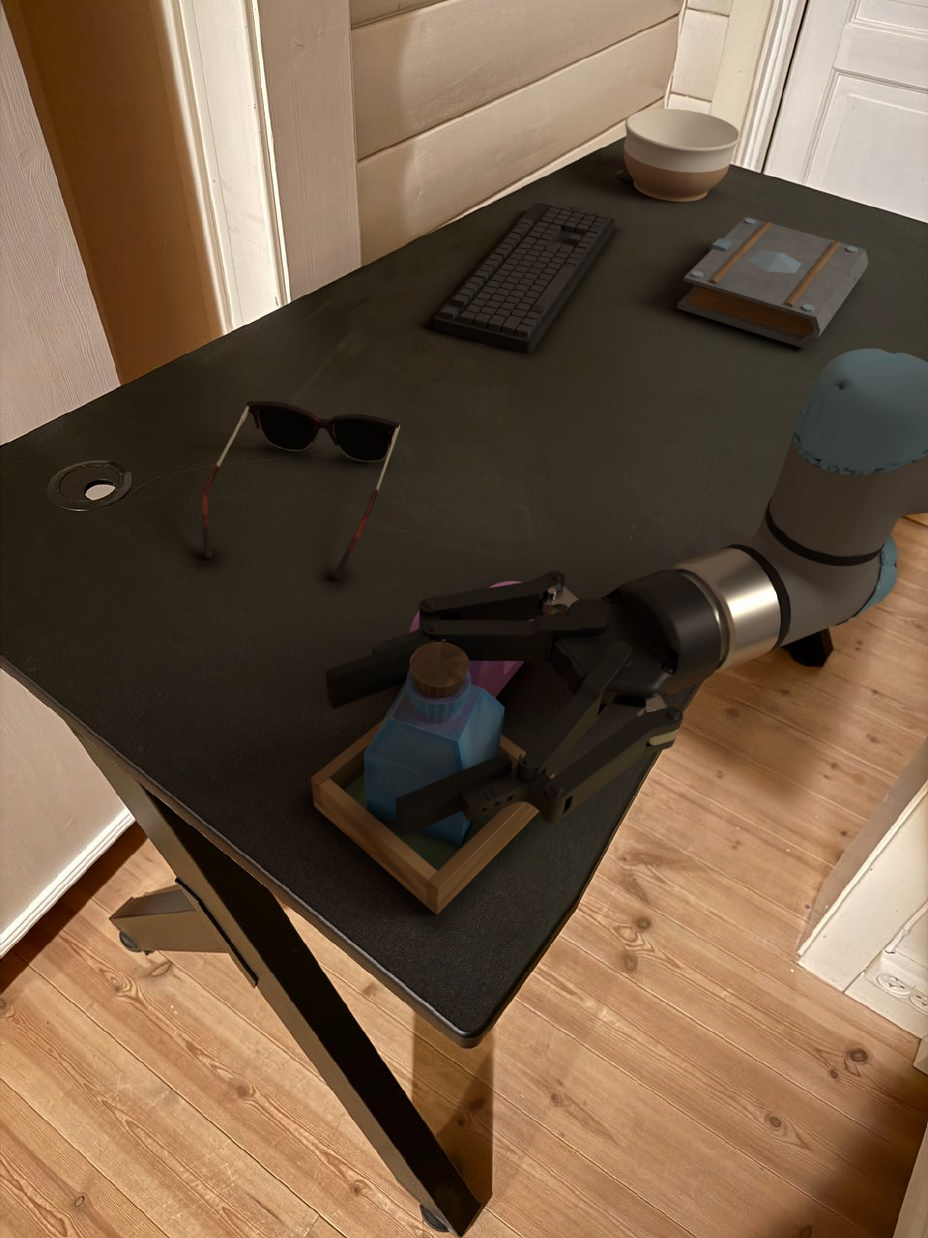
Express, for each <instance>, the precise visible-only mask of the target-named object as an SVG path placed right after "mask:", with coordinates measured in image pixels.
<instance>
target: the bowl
mask: <svg viewBox="0 0 928 1238" xmlns="http://www.w3.org/2000/svg"><path fill="white" fill-rule="evenodd" d="M624 126H625V132H626V133H625V134H626V135H625V140H624V143H623V160H624V163H625V167H626V170H627V172H628V173H629V175H630V177H631V178H632V180H633V186H634V188H635V189H636V190H637V191H639V192H640V193H642V194H643V195H646V196H648V197H651V198H653V199H657V200H662V201H667V202H668V201H669V202H676V203H677V202H679V203H682V202H694V201H699V200H701V199H703V198H705V197H706V196H707V194H708V193H709V191H710V190H711V189H712V188H714V187H715V186H716V185H718V184H719V183H720V182H721V180H723V178H724V177H725V176H726V174H727V173H728V171H729V168H730V165H731V163H732V161H733V158H734V153H735V148H736V146H737V145H738V144H739V142H740V140H741V133H740V131H739V129H738V128H737V127H736V126H735V125H733V124H732V123H730V122H729V121H727V120H725V119H722V118H720V117H717V116H715V115H712V114H707V113H704V112H699V111H693V110H689V109H680V108H654V109H652V108H651V109H645V110H640V111H637V112H635V113H632V114H630V115H629V116H628V117H627V118H626V120H625V122H624Z"/></svg>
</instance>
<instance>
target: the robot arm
mask: <svg viewBox="0 0 928 1238" xmlns="http://www.w3.org/2000/svg"><path fill="white" fill-rule="evenodd" d="M791 437H792V438H791V440H790V443H789V447H788V449H787V453H786V456H785V458H784V461H783V464H782V468H781V470H780V473H779V476H778V478H777V481H776V485H775V488H774V491H773V493H772V495H771V497H770V498H769V501H768V503H767V507H766V508H765V510H764V513H763V515H762V518H761V520H760V523H759V526H758V528H757V531H756V532H755V533H754V534H753V535H752V536H750V537H748V538H746V539H743V540H741V541H738V542H736V543H733V544H729V545H728V546H726V547H723V548H719V549H716V550H713V551H710V552H707V553H703V554H701V555H699V556H695V557H692V558H690V559H686V560H684V561H680V562H678V563H676V564H673V565H671V566H670V567H668V568H667V569H661V570H657V571H655V572H652V573H650V574H647V575H644V576H640V577H638V578H636V579H633V580H630V581H627V582H625V583H622V584H620V585H619V586H617V587H616V588H615V589H613V590H612V591H610V592H609V593H607V594H606V595H604V596H603V597H598V598H577V597H576V595H574V594H573V593H572V592H571V591H570V590H569V589H568V588H567V587H566V586H565V583H566V575H565V574H564V572H562V571H559V570H551V571H548V572H545V573H543V574H542V575H539V576H538V577H536V578H534V579H531V580H529V581H521V582H522V583H516V584H509V585H503V586H497V587H491V586H490V587H491V588H489V587H485V588H480V589H479V588H478V589H473V590H467V591H461V592H454V593H449V594H443V595H437V596H436V595H435V596H431V597H425V598H423V599H422V600H420V601H419V604H418V605H419V607H418V608H419V610H418V611H419V628H418V629H417V630H415V631H413V632H410V633H409V632H408V633H404V634H401V635H399V636H395V637H394V638H389V639H388V640H385V641H384V640H383V641H381V642H379V643H377V644H376V645H375V646H374V647H372V654H369V655H366V656H364V657H361V658H357V659H355V660H353V661H350V662H347V663H344V664H342V665H339V666H336V667H333V668H329V669H327V670H325V672H324V673H325V683H326V692H327V693H326V694H327V702H328V704H329V706H330V707H331V709H332V710H335V709H338V708H340V707H344V706H346V705H349V704H352V703H354V702H357V701H359V700H362V699H366V698H368V697H370V696H371V697H372V696H374V695H376V694H378V693H381V692H384V691H387V690H390V689H392V688H395V687H397V686H400V685H403V684H404V682H405V680H406V679H407V675H408V672H409V669H410V660H411V657H412V655H413V653H414V652H415V651H416V650H417V649H418V648H420V647H421V646H423V645H425V644H428V643H432V642H445V643H450V644H453V645H455V646H457V647H459V648H460V649H461V650H462V651H463V652H465V654H466V656H467V657H468V659H469V661H524V662H529V663H531V664H532V665H533V666H535V667H542V668H543V667H547V668H548V667H550V668H552V670H553V671H554V672H555V673H556V674H557V675H559V676H560V677H561V678H562V679H563V680H565V682H566V685H567V687H568V689H569V692H570V693H571V694H572V698H571V699H570V700H569V701H568V702H567V704H566V705H565V707H563V709H561V711H560V712H559V714H558V715H557V716H556V717H555V718H554V719H553V720H552V722H551V723H550V724H549V725H548V727H546V729H545V730H544V731H543V733H542V734H541V735H540V736H539V737H538V738H537V740H536V741H535V742H534V743H533V744H532V745H531V747H530V748H529V749H528V751H527V752H526V754H525V756H524V757H523V758H522V754H520V756H519V759H518V765H517V767H515V768H513V769H512V764H513V763H512V761H511V760H510V758H509V757H508V755H507V754H506V752H505V753H503V754H500V755H498V756H496V757H493V758H491V759H489V760H486V761H484V762H481V763H479V764H477V765H474V766H472V767H470V768H467V769H465V770H462V771H460V772H458V773H455V774H453V775H450V776H448V777H446V778H443V779H441V780H439V781H436V782H434V783H431V784H429V785H427V786H424V787H422V788H420V789H417V790H415V791H412V792H410V793H408V794H405V795H403V796H401V797H398V798H396V827H397V829H398V831H399V833H400V835H401V836H402V837H404V836H406V835H408V834H411V833H413V832H415V831H418V830H420V829H422V828H424V827H427V826H429V825H431V824H434V823H436V822H438V821H440V820H443V819H445V818H447V817H450V816H452V815H454V814H456V813H459V812H461V811H462V812H463V814H464V816H465V817H466V819H467V820H478V819H480V818H482V817H485V816H486V815H489V814H491V813H493V812H496V811H498V810H500V809H503V808H505V807H507V806H509V805H512V804H514V803H516V802H527V803H529V804H531V805H532V806H534V807H535V808H536V809H538V810H539V815H540V817H541V819H542V820H543V821H545V822H546V823H549V824H556V823H558V822H560V821H562V820H563V818H565V817H566V816H567V815H569V814H570V813H571V812H573V811H574V810H575V809H576V808H578V807H579V806H580V805H581V804H583V803H584V802H585V801H587V800H588V799H589V798H591V797H592V796H593V795H595V794H596V793H597V792H599V791H600V790H601V789H602V788H604V787H605V786H606V785H608V784H609V783H610V782H611V781H613V780H614V779H616V777H618V776H619V775H621V774H622V773H623V772H625V771H626V770H627V769H629V768H630V767H631V766H632V765H633V764H635V763H636V762H637V761H639V760H640V759H641V758H643V757H644V756H648V755H651V754H654V753H657V752H661V751H664V750H667V749H670V748H672V747H673V746H674V744H675V742H676V739H677V736H678V733H679V730H680V728H681V726H682V723H683V720H684V714H683V712H682V710H680V709H679V708H677V707H675V706H667V704H666V702H665V701H664V699H663V698H662V697H668V696H670V695H673V694H675V693H678V692H681V691H682V690H685V689H688V688H690V687H692V686H695V685H696V684H699V683H701V682H704V681H706V680H708V679H709V678H711V676H713V675H718V674H721V673H724V672H726V671H728V670H730V669H733V668H735V667H738V666H740V665H742V664H745V663H748V662H749V661H752V660H754V659H756V658H759V657H761V656H763V655H766V654H768V653H770V652H773V651H775V650H776V649H779V648H780V647H783V646H785V645H788V644H790V643H793V642H795V641H798V640H801V639H803V638H806V637H808V636H811V635H813V634H816V633H818V632H821V631H824V630H826V629H829V628H831V627H836V626H841V625H843V624H845V623H847V622H850V621H851V620H852V619H853V618H857V617H859V616H860V615H861V614H863V613H864V612H866V611H868V610H869V609H871V608H873V607H875V606H877V605H878V604H880V603H881V602H883V601H884V600H885V599H886V598H887V597H888V595H889V594H890V593H891V592H892V590H893V589H894V587H895V585H896V583H897V580H898V575H899V572H898V568H897V560H898V558H899V550H898V547H897V544H896V541H895V539H894V537H893V535H892V532H893V530H894V529H895V528H896V525H897V523H898V521H899V519H901V518H903V517H904V516H912V515H922V514H928V362H927V361H926V360H923V359H922V358H920V357H916V356H915V355H912V354H909V353H905V352H902V351H898V352H895V353H892V352H888V351H885V350H884V349H881V348H874V347H873V348H872V347H871V348H859V349H853V350H849V351H846V352H844V353H842V354H840V355H838V356H836V357H834V358H833V359H831V360H830V361H829V362H828V363H826V365H825V366H824V367H823V368H822V370H821V372H820V373H819V375H818V378H817V380H816V381H815V383H814V386H813V387H812V388H811V389H810V392H809V394H808V396H807V399H806V401H805V403H804V405H803V407H802V409H801V411H800V412H799V415H798V416H797V418H796V421H795V423H794V429H793V431H792V436H791ZM557 614H560V615H557ZM533 619H534V620H533ZM529 620H532V621H529ZM550 637H551V642H550V646H547V645H548V640H549V638H550ZM442 640H445V641H442ZM609 707H617V708H623V709H632V710H638V712H637V714H636V717H635V718H633V719H632V720H630V721H628V722H627V723H626V724H624V725H623V726H622V727H621V728H619V729H618V730H617V731H615V732H613V734H611V735H609V736H608V737H607V738H605V739H603V741H601V742H600V743H598V745H596V746H595V747H593V748H592V749H590V750H589V751H588V752H587V753H585V754H583V755H582V756H581V757H580V758H578V759H577V760H575V761H574V762H573V763H572V764H570V765H569V766H568V767H566V768H565V769H564V770H562V771H561V772H559V773H558V774H556V775H554V778H553V779H551V778H550V776H551V775H552V774H553V773H555V771H556V770H557V769H558V768H559V766H560V765H561V764H562V763H563V761H564V760H565V759H566V757H568V755H569V754H570V752H571V751H572V750H573V749H574V747H575V746H576V745H577V743H578V742H579V741H580V740H581V739H582V738H583V736H584V735H585V733H587V731H588V730H589V729H592V728H593V727H594V726H595V725H596V723H597V721H599V719H600V718H601V717H602V716H603V714H604V713H605V712H606V711H607V709H608V708H609Z"/></svg>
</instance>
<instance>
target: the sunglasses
mask: <svg viewBox="0 0 928 1238" xmlns="http://www.w3.org/2000/svg"><path fill="white" fill-rule="evenodd" d="M245 404H246V406H245V408H244V410H243V412H242V414H241V416H240V417H239V418H240V419H239V421H238V423H237V425H236V427H235V428H234V431H233V432H232V435H231V436H230V437H229V440H228V442H227V444H226V446H225V447H224V450H223V451H222V454H221V455H220V456H219V458H218V460H217V462H216V464H215V465H214V467H213V469H212V471H211V473H210V475H209V477H208V479H207V481H206V483H205V485H204V488H203V492H202V497H201V522H202V536H203V539H202V540H203V553H204V558H205V559H210V558H212V557H213V554H212V548H211V542H210V534H209V533H210V531H209V517H208V500H209V496H210V495H209V494H210V490H211V489H212V485H213V483H214V482H215V480H216V477H217V475H218V474H219V471H220V466H221V465H222V463H223V461H224V458H225V456H226V454H227V453H228V451H229V449H230V447H231V445H232V443H233V441H234V439H235V437H236V436H237V433H238V431H239V429H240V427H241V425H242V424H243V423H244V422H245V420H246V418H247V417H248V415H249V413H250V414H251V415H252V417H253V421H254V423H255V426H256V429H258V430H261V432H262V434H263V436H264V438H265V440H266V441H267V442H268V443H269V444H270V445H272V446H274V447H277V448H279V449H282V450H286V451H291V452H303V451H305V450H307V449H308V448H309V447H310V445H311V444H312V443H314V442H315V440H316V438H317V436H318V434H319V431H320V429H324V430H326V432H327V433H328V435H329V437H330V439H331V441H332V442H333V444H334V446H336V447H339V449H340V451H342V453H343V454H344V455H346V457H348V458H350V459H352V460H354V461H359V462H364V463H373V462H381V461H383V460H384V459H385V462H384V464H383V467H382V470H381V471H380V472H381V473H380V476H379V479H378V481H377V484H376V487H375V489H373V490H372V494H371V496H370V499H369V502H368V505H367V507H366V510H365V512H364V514H363V515H362V517H361V520H360V521H359V524H358V526H357V527H356V530H355V532H354V534H353V537H352V538H351V540H350V542H349V544H348V546H347V549H346V550H345V552H344V554H343V557H342V558H341V560H340V562H339V564H338V566H337V568H336V571H335V573H334V574H333V577H334V578H335V579H337V580H341V578H342V576H343V573H344V571H345V568H346V565H347V563H348V561H349V558H350V556H351V555H352V553H353V551H354V548H355V547H356V544H357V542H358V541H359V539H360V536H361V534H362V532H363V530H364V528H365V525H366V523H367V522H368V520H369V518H370V515H371V513H372V511H373V509H374V506H375V504H376V500H377V497H378V494H379V490H380V487H381V485H382V481H383V479H384V475H385V472H386V469H387V468H388V467H387V466H388V463H389V461H390V458H391V455H392V452H393V450H394V447H395V444H396V441H397V437H398V434H399V433H400V430H401V423H399V422H398V421H393V420H390V419H387V418H384V417H380V416H375V415H369V414H361V413H348V414H347V413H346V414H338V415H334V416H332V417H330V418H321V417H319V416H317V415H316V414H315V413H314V412H312V411H309V410H307V409H304V408H302V407H300V406H297V405H293V404H290V403H285V402H280V401H271V400H269V401H268V400H250V401H249V400H248V401H247V403H245Z"/></svg>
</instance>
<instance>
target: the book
mask: <svg viewBox="0 0 928 1238" xmlns="http://www.w3.org/2000/svg"><path fill="white" fill-rule="evenodd" d="M868 265H869V258H868V255H867V250H866V249H865V248H861V247H859V246H854V245H851V244H848V243H844V242H841V241H840V240H833V239H829V238H826V237H822V236H818V235H814V234H812V233H807V232H804V231H800V230H796V229H794V228H793V229H792V228H789V227H785V226H783V225H782V226H781V225H778V224H774V223H772V222H770V221H763V220H760V219H756V218H752V217H750V216H745V217H743V219H741V220H740V222H738V224H736V225H735V226H734V227H733V228H732V230H730V231H729V232H728V234H726V235H725V236H724V237H723V238H721V237H718V238H716V240H714V242H713V243H712V244H711V245H710V246H709V250H708V253H707V254H706V255H705V256H704V257H703V258H702V259H701V260H700V261H699V262H697V264H696V265H695V266H694V267H693V268H692V269H691V270H690V271H689V272H687V274H686V275H685V276H684V278H683V282H687V283H690V284H693V287H692V288H691V290H689V291H688V292H687V293H686V295H684V296H683V298H682V299H681V300H680V301H678V303H677V306H676V307H677V308H676V309H678V310H682V311H685V312H687V313H691V314H694V315H696V316H700V317H703V318H706V319H710V320H713V321H717V322H719V323H723V324H726V325H729V326H731V327H735V328H739V329H742V330H744V331H746V332H747V331H748V332H751V333H754V334H757V335H760V336H764V337H766V338H770V339H773V340H776V341H779V342H782V343H786V344H788V345H792V346H795V347H798V348H802V349H805V350H806V349H807V348H808V347H810V346H811V345H812V344H813V343H814V342H815V341H817V340H818V339H819V338H820V336H821V335H822V334H823V332H824V330H825V329H826V328H827V326H828V324H829V323H830V322H831V320H832V319H833V317H834V316H835V314H836V313H837V311H838V310H839V309H840V307H841V306H842V304H843V303H844V301H845V300H846V298H847V297H848V295H849V294H850V293H851V291H852V290H853V289H854V287H855V285H856V284H857V282H858V281H859V280H860V278H861V277H862V275H863V274H864V272H865V271H866V270H867V267H868Z"/></svg>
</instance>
